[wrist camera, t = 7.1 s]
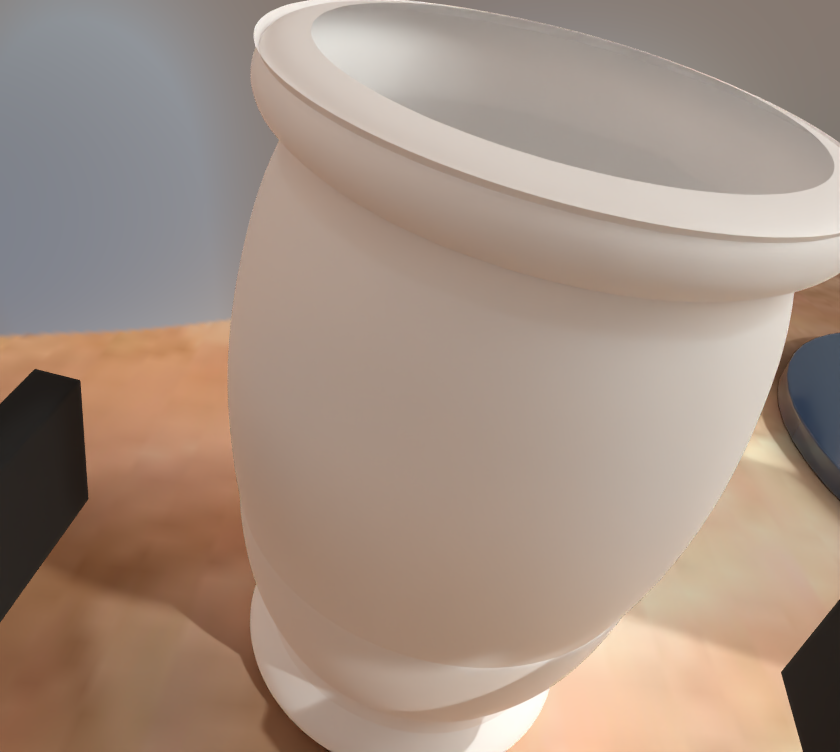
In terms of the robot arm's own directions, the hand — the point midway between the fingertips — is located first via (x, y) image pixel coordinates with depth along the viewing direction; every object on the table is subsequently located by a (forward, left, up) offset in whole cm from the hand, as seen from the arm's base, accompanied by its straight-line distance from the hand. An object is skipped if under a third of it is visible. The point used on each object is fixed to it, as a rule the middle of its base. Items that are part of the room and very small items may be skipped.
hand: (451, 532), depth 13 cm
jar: (-2, -4, -9) cm, 10 cm away
